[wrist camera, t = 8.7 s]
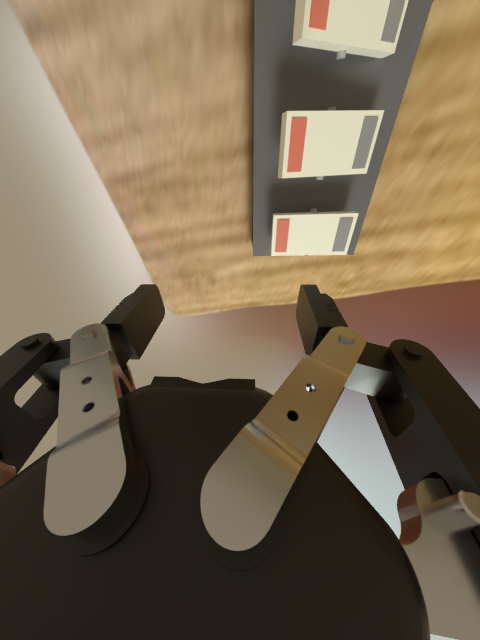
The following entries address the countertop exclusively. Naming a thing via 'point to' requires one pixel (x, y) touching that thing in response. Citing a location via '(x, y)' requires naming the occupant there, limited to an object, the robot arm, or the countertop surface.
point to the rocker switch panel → (317, 95)
